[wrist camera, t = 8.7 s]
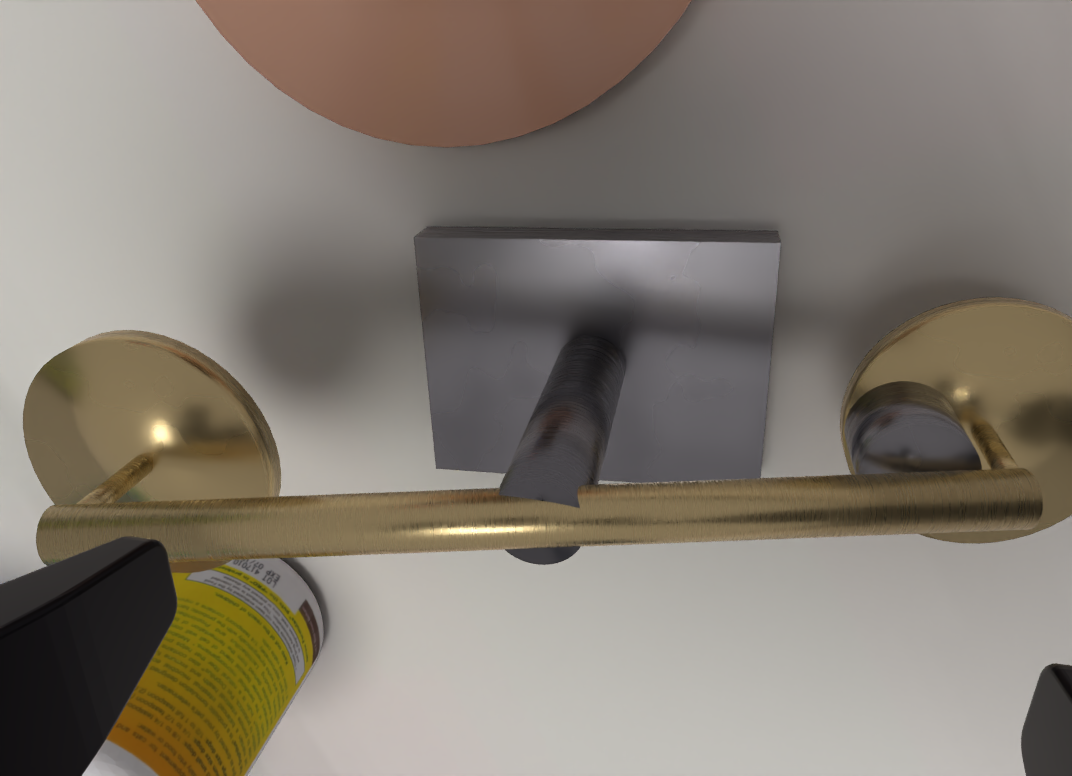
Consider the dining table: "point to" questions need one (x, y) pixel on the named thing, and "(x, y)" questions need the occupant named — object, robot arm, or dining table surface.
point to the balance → (576, 417)
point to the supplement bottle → (218, 674)
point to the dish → (444, 59)
